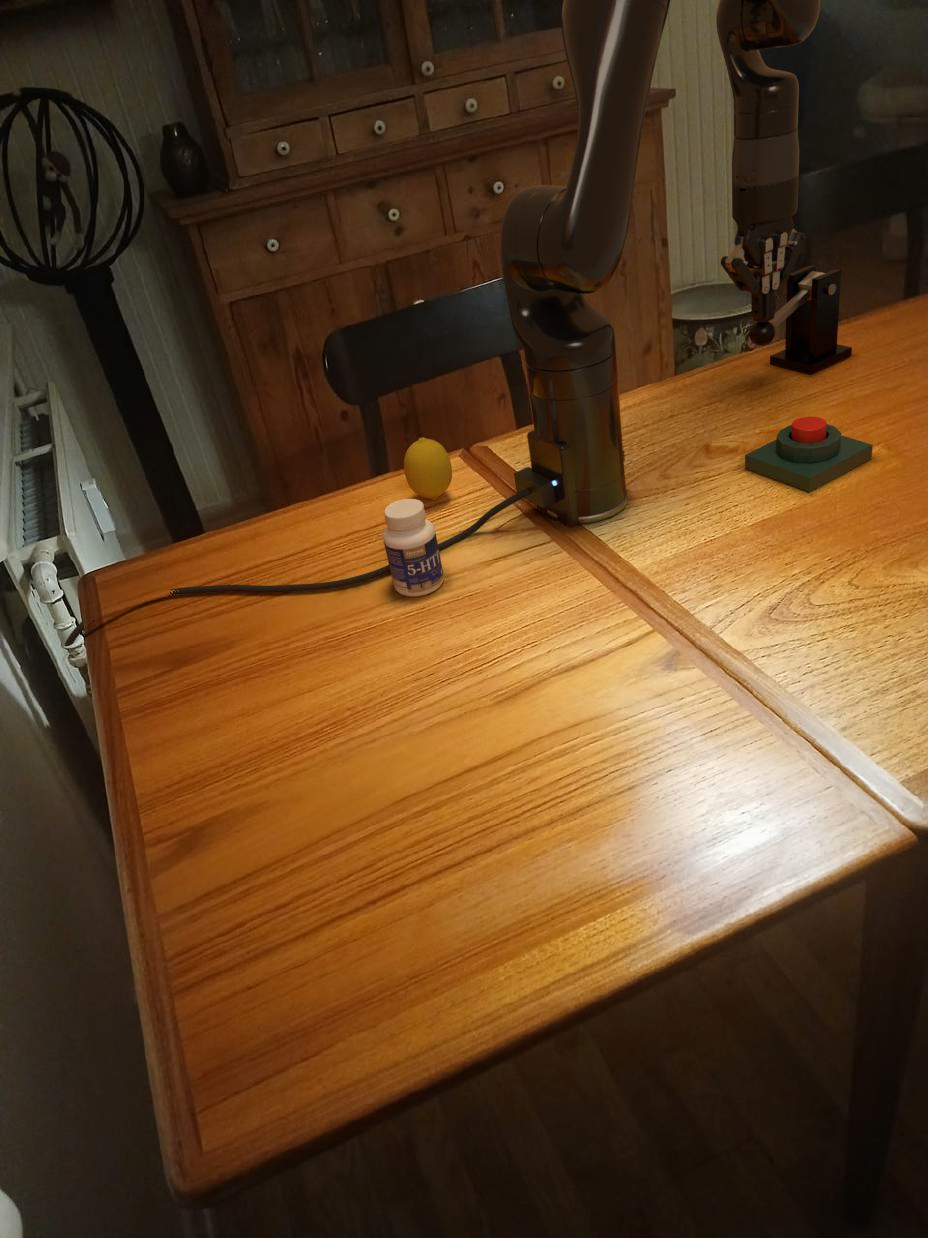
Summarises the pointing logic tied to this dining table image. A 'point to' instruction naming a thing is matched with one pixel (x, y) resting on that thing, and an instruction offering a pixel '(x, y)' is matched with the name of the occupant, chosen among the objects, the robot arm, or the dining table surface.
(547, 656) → the dining table surface
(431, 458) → the lemon
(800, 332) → the black lever stand
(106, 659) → the dining table surface
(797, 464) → the button block
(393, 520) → the pill bottle
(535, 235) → the robot arm
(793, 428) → the push button
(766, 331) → the tap lever
